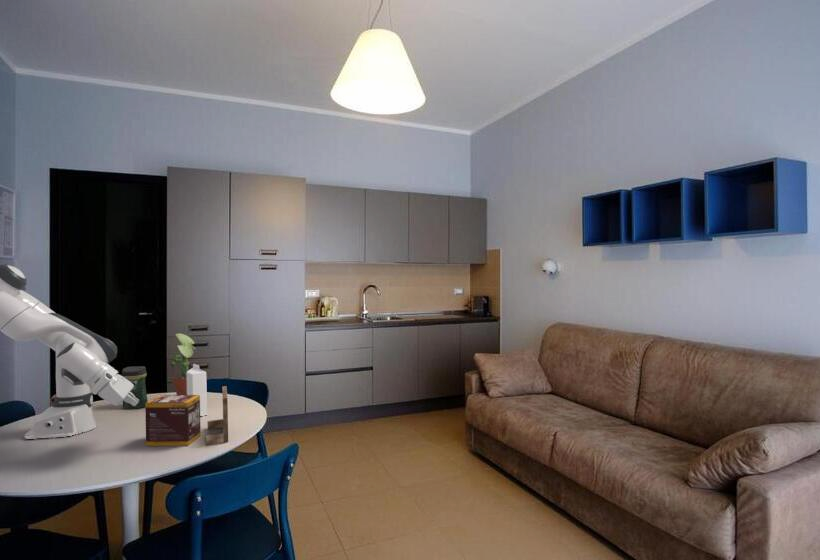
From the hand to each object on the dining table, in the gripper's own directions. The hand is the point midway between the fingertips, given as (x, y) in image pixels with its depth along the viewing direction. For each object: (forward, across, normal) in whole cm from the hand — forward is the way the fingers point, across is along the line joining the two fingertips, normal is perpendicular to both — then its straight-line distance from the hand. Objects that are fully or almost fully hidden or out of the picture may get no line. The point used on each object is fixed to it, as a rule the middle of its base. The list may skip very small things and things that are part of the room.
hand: (137, 403), depth 170 cm
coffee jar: (+4, -55, -18) cm, 58 cm away
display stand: (+29, -1, +8) cm, 30 cm away
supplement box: (+19, 0, -3) cm, 19 cm away
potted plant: (+20, -49, -1) cm, 53 cm away
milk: (+23, -29, +2) cm, 38 cm away
